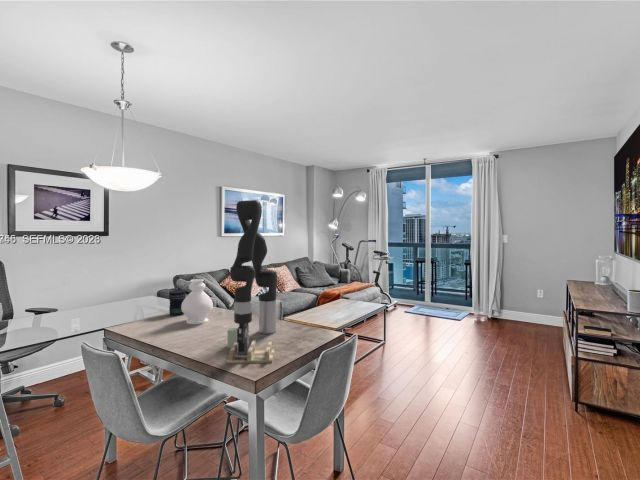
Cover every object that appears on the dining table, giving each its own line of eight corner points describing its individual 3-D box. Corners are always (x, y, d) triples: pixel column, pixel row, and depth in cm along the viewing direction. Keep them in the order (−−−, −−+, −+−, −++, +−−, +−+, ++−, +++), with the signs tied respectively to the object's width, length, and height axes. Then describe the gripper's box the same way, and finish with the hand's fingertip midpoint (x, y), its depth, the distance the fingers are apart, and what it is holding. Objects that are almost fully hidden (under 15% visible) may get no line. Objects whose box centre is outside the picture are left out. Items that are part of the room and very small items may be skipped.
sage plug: (229, 344, 162) (229, 328, 162) (237, 344, 162) (237, 328, 162) (227, 347, 158) (227, 330, 158) (236, 347, 158) (236, 330, 158)
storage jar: (187, 314, 216) (186, 291, 216) (170, 316, 211) (170, 293, 210) (184, 311, 225) (183, 289, 224) (168, 313, 219) (167, 290, 219)
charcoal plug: (239, 352, 149) (239, 334, 149) (248, 352, 150) (248, 334, 149) (237, 355, 145) (237, 337, 145) (247, 355, 146) (247, 337, 145)
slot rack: (233, 350, 155) (233, 340, 155) (275, 349, 156) (275, 339, 155) (225, 363, 140) (225, 352, 140) (271, 362, 141) (271, 352, 140)
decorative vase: (188, 317, 211) (188, 277, 210) (216, 317, 211) (216, 277, 210) (176, 325, 193) (175, 282, 192) (207, 325, 193) (207, 282, 192)
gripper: (237, 307, 154) (237, 342, 154) (230, 315, 139) (230, 354, 140) (254, 307, 154) (254, 342, 155) (249, 315, 140) (249, 353, 140)
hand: (243, 347), depth 147 cm, fingers open, 8 cm apart
